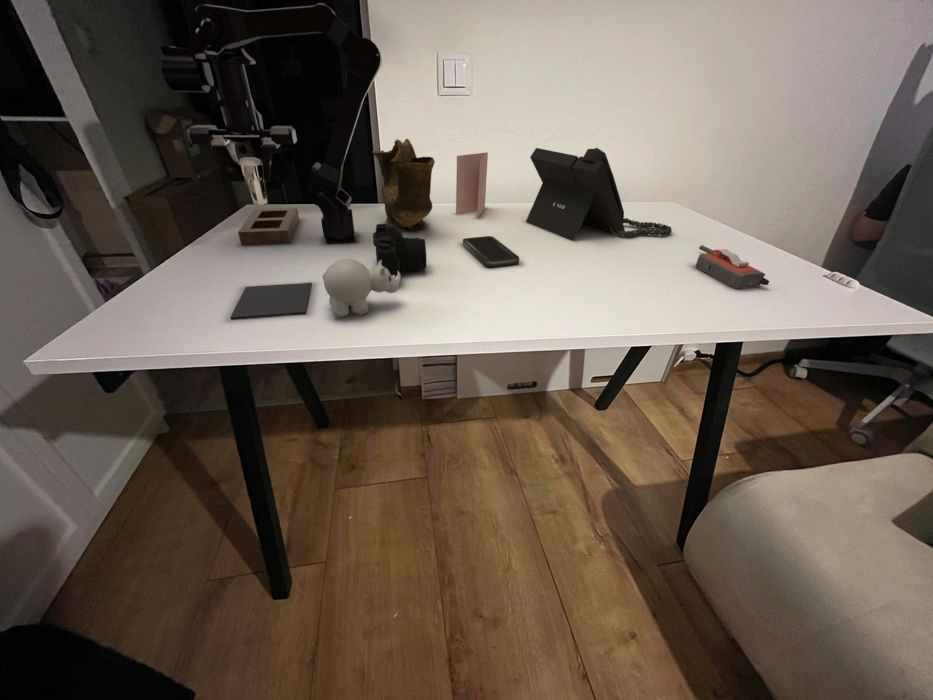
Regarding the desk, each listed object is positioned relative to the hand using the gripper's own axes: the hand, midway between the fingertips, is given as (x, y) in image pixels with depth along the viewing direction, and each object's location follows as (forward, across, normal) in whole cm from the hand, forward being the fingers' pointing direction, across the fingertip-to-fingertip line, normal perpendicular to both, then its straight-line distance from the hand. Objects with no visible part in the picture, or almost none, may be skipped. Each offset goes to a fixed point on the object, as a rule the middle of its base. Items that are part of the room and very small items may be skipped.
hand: (256, 181), depth 84 cm
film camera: (+13, -28, +22) cm, 38 cm away
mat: (+12, -6, +31) cm, 34 cm away
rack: (+12, 0, -6) cm, 14 cm away
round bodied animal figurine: (+13, -21, +36) cm, 44 cm away
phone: (+13, -48, +15) cm, 52 cm away
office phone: (+13, -82, 0) cm, 83 cm away
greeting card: (+13, -52, -16) cm, 56 cm away
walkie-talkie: (+13, -94, +30) cm, 100 cm away
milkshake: (+5, 0, 0) cm, 5 cm away
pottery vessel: (+13, -32, -7) cm, 35 cm away
